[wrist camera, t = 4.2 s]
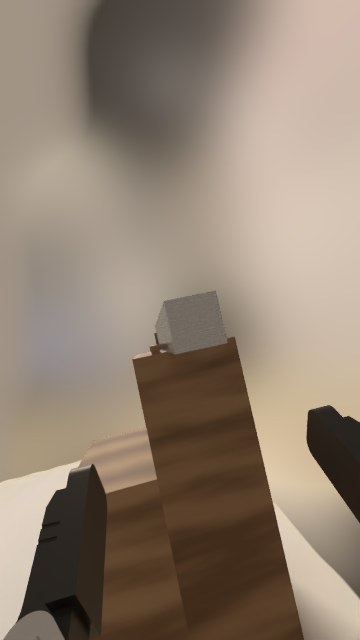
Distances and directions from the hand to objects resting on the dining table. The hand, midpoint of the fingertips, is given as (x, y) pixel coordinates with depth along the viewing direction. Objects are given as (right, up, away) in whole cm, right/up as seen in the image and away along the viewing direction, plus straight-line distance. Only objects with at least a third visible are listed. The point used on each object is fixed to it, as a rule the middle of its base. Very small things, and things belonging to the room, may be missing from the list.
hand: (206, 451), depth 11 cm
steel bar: (-1, +2, +20) cm, 20 cm away
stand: (+1, -31, +23) cm, 39 cm away
